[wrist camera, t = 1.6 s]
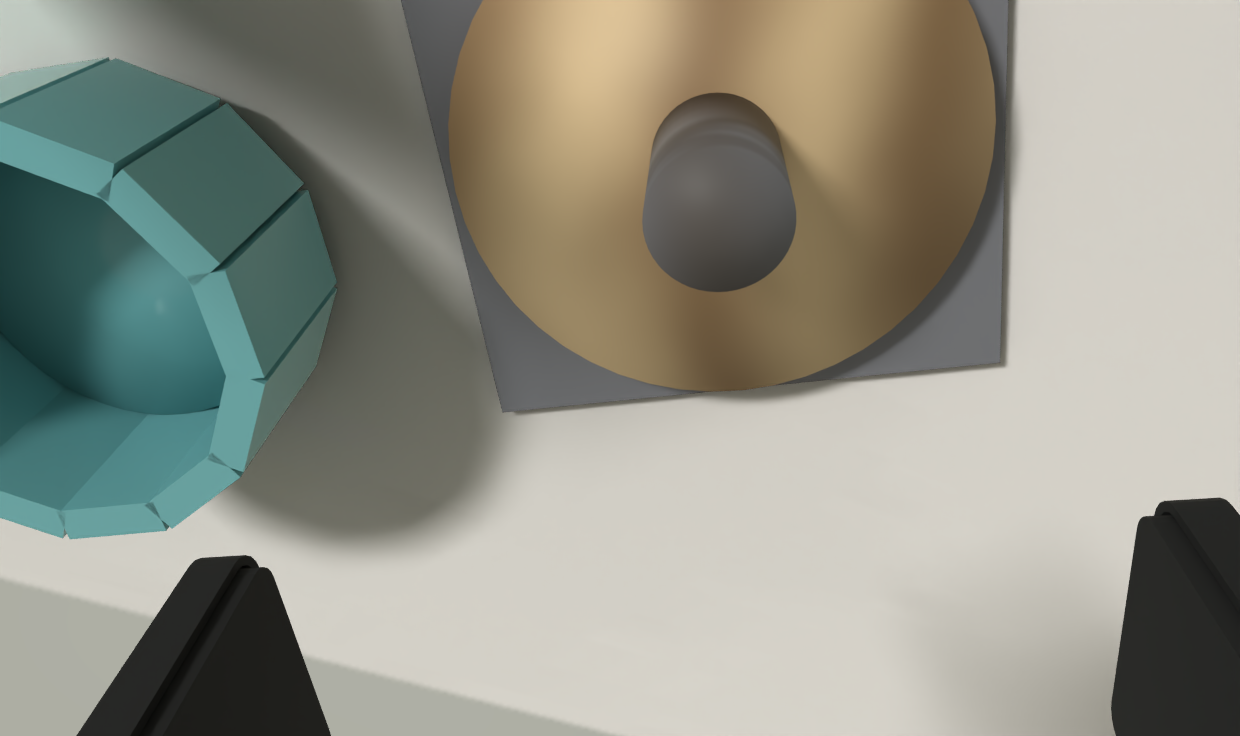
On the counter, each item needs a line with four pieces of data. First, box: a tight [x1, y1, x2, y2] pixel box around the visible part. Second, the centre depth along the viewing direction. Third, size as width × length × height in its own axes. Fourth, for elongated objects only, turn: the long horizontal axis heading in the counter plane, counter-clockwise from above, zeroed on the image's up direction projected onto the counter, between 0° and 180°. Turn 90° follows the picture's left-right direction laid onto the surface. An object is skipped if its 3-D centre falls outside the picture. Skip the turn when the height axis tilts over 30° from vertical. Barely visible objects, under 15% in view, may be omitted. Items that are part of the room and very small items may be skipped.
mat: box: [401, 0, 1008, 412], centre depth 29 cm, size 16×16×1 cm
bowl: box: [0, 57, 337, 539], centre depth 29 cm, size 12×12×7 cm
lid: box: [448, 0, 996, 392], centre depth 26 cm, size 15×15×6 cm
